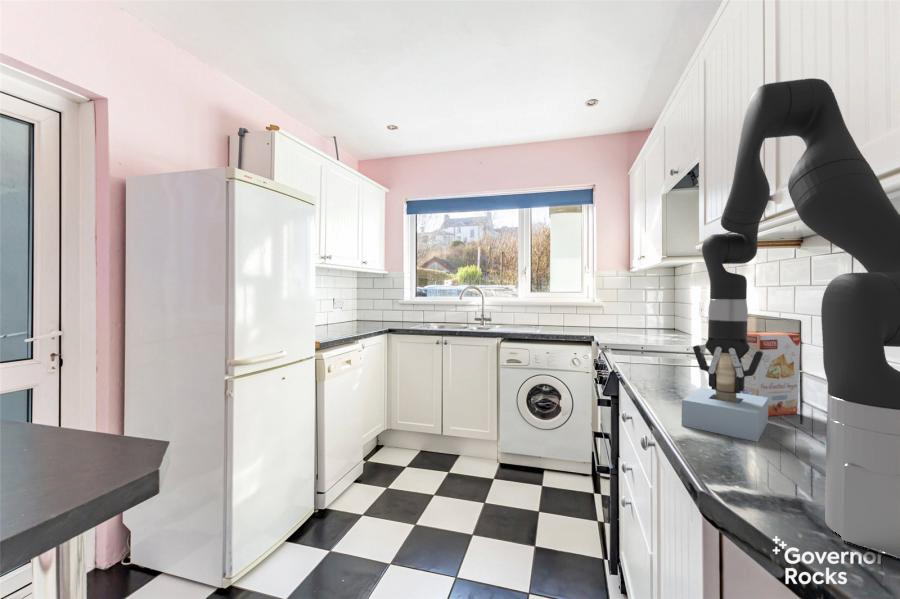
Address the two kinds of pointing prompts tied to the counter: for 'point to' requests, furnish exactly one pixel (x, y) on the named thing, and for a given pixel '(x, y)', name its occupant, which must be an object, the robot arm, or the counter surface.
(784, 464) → the counter surface
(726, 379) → the peg
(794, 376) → the cracker box
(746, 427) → the socket block
